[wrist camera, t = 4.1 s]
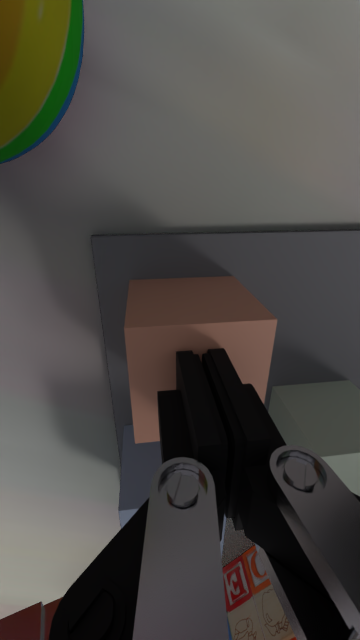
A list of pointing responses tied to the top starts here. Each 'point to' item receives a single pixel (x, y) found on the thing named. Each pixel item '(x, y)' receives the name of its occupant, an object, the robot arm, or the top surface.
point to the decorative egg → (37, 69)
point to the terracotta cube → (191, 337)
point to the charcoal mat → (261, 281)
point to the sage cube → (322, 423)
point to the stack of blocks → (253, 601)
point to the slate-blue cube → (139, 475)
